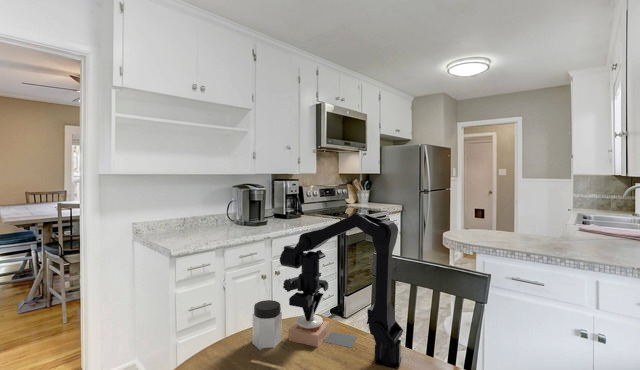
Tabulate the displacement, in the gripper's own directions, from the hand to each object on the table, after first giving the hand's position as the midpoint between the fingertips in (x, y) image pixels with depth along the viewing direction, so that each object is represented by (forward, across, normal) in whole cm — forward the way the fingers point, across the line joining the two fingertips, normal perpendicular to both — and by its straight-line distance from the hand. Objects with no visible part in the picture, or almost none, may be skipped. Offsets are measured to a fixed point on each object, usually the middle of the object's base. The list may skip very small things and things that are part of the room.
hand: (309, 318), depth 103 cm
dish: (+6, 0, 0) cm, 6 cm away
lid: (+1, 0, 0) cm, 1 cm away
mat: (+6, -2, +10) cm, 12 cm away
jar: (+6, +8, -11) cm, 15 cm away
